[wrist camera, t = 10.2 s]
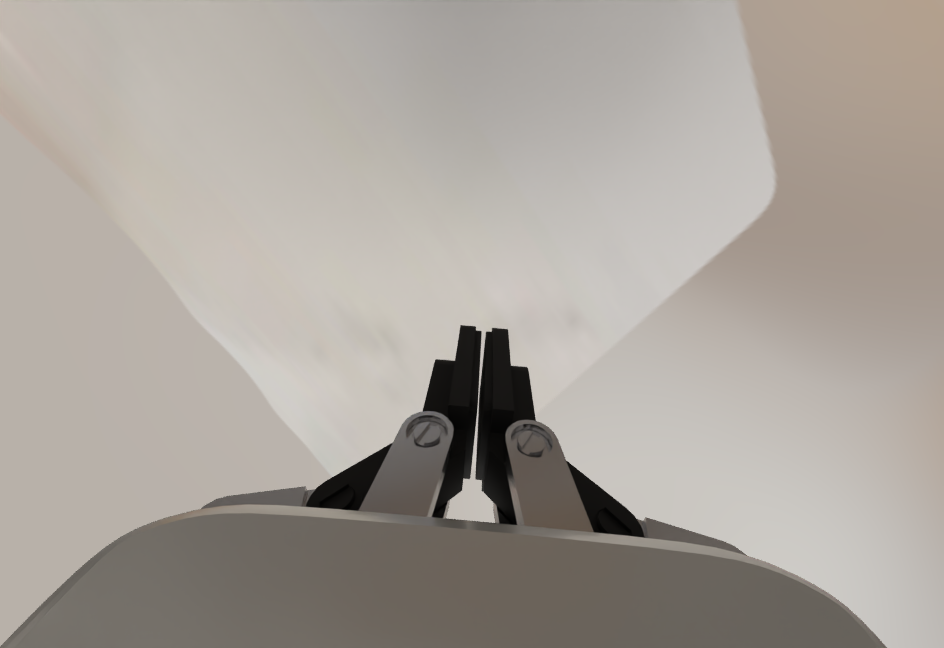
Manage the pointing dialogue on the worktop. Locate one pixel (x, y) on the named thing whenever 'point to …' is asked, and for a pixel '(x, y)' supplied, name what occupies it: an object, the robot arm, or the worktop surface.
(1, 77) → the worktop surface
